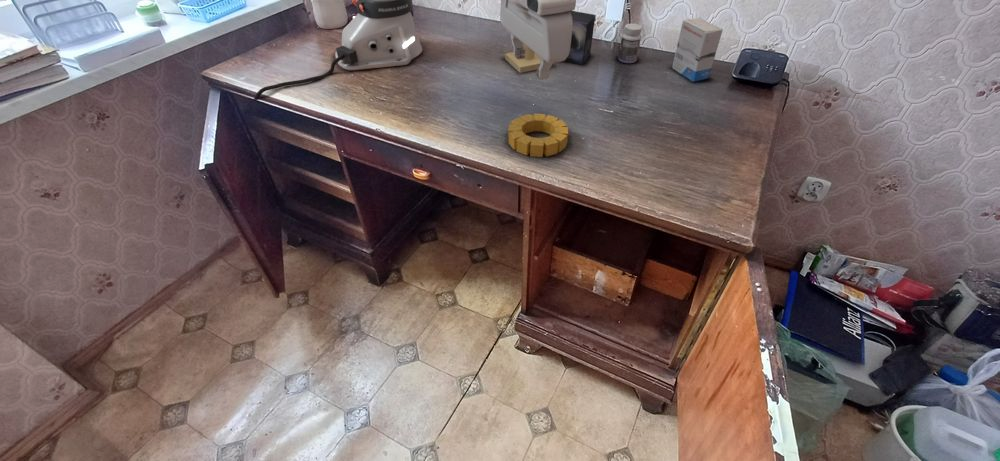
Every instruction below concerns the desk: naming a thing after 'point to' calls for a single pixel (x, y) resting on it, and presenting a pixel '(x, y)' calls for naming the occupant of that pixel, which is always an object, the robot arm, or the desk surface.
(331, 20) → the cup
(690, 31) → the ink box
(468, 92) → the desk surface
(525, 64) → the tan peg stand
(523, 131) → the ring
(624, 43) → the pill bottle
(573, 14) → the small box
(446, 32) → the desk surface
